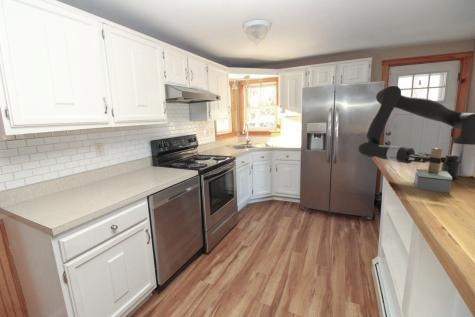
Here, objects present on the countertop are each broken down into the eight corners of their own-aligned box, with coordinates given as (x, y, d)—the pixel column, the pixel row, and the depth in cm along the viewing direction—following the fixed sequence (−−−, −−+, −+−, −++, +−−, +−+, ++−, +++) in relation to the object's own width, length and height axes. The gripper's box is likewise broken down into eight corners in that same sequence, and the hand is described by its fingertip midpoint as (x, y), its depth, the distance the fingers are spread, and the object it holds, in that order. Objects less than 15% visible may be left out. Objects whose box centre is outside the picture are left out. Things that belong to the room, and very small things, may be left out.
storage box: (413, 184, 111) (415, 172, 110) (443, 187, 105) (446, 175, 104) (416, 190, 102) (417, 177, 101) (449, 195, 96) (451, 181, 95)
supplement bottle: (461, 180, 116) (465, 157, 114) (445, 179, 117) (449, 156, 115) (451, 176, 123) (455, 154, 120) (436, 176, 124) (440, 154, 122)
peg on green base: (415, 172, 110) (419, 145, 107) (446, 175, 104) (451, 147, 101) (418, 178, 101) (422, 149, 98) (451, 182, 95) (457, 151, 92)
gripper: (392, 148, 109) (436, 153, 94) (409, 145, 116) (452, 150, 101) (390, 163, 111) (433, 171, 96) (407, 160, 117) (449, 167, 102)
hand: (443, 160), depth 98 cm, fingers closed on peg on green base, 3 cm apart
